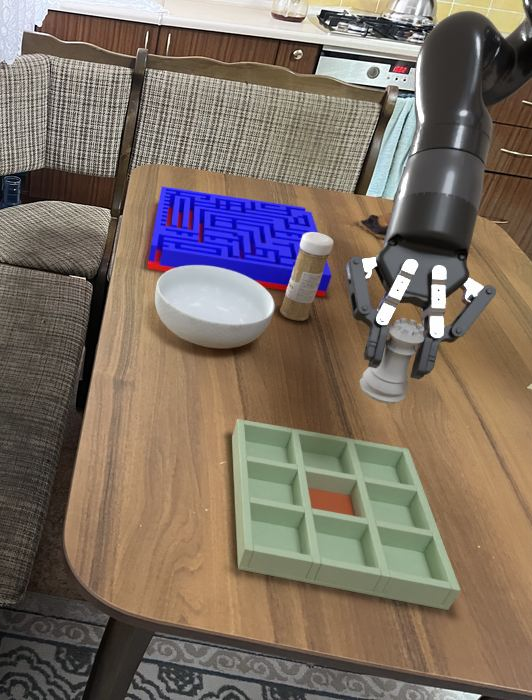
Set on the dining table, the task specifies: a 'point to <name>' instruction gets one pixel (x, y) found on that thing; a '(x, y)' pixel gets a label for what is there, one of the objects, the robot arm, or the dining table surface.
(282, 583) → the dining table surface
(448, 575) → the grid
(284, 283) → the maze
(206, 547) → the dining table surface
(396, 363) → the rook chess piece
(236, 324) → the cereal bowl
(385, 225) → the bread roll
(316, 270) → the sprinkles bottle
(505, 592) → the dining table surface
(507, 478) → the dining table surface
